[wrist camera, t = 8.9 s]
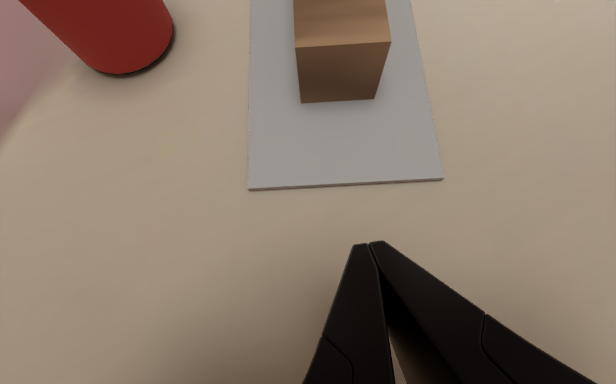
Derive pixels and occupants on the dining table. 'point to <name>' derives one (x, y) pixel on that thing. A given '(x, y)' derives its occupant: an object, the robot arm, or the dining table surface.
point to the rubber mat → (336, 113)
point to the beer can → (108, 30)
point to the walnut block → (340, 48)
